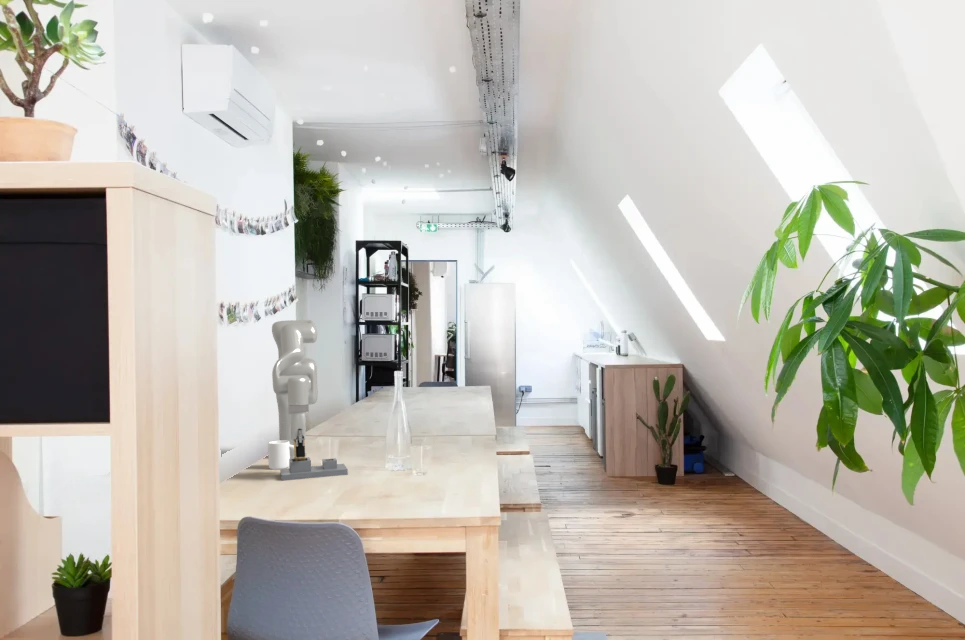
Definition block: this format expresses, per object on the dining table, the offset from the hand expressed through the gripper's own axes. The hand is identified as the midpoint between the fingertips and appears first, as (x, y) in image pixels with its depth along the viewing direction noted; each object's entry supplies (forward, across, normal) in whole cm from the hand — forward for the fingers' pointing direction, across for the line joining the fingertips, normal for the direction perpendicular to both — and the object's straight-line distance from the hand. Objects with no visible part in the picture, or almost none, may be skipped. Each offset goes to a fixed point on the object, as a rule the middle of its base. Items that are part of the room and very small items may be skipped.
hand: (299, 454), depth 275 cm
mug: (+8, -20, -5) cm, 22 cm away
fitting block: (+8, 0, +5) cm, 9 cm away
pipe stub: (+6, 0, 0) cm, 6 cm away
